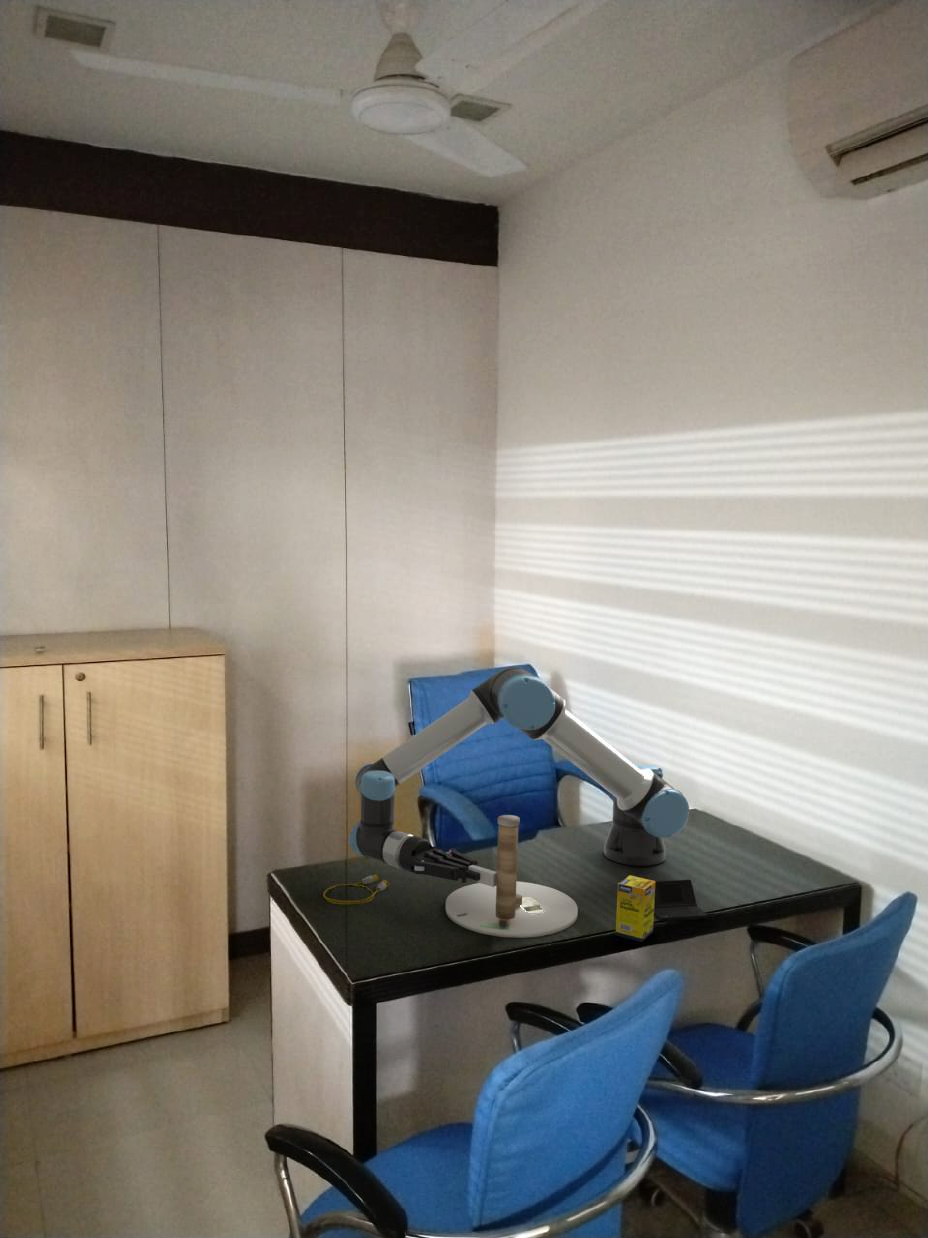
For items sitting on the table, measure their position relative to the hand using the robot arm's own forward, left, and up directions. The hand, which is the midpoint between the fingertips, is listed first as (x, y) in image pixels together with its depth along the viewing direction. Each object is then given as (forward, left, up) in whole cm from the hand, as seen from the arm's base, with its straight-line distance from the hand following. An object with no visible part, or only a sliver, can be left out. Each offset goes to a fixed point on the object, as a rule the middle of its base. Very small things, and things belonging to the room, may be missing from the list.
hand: (495, 879), depth 203 cm
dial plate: (-3, -9, -10) cm, 14 cm away
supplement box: (-28, 0, -10) cm, 30 cm away
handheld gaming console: (-38, -13, -10) cm, 42 cm away
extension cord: (+31, -15, -11) cm, 36 cm away
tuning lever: (-3, -3, -8) cm, 9 cm away
